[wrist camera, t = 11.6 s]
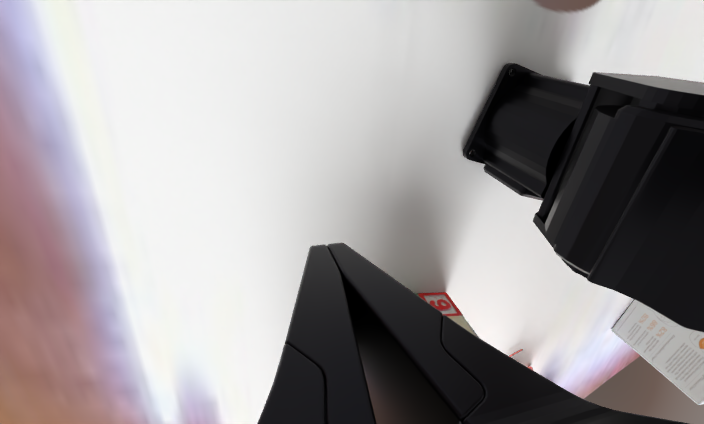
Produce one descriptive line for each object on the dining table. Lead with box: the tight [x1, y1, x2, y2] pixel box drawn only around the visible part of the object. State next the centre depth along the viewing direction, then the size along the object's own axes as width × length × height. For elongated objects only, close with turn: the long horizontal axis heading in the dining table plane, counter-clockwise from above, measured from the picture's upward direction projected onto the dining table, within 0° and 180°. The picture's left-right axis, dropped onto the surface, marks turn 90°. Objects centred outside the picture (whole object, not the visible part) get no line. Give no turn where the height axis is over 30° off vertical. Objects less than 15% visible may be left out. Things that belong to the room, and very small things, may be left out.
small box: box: [612, 300, 704, 405], centre depth 39 cm, size 8×6×10 cm
